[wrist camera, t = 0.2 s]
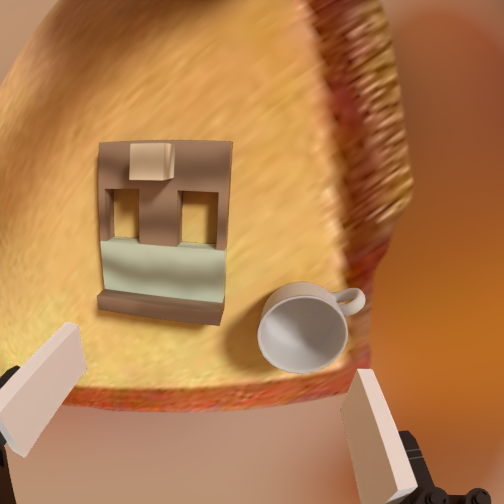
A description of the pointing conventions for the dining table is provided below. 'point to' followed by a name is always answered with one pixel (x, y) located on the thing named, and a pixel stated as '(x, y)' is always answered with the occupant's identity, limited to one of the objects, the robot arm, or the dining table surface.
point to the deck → (165, 236)
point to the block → (152, 161)
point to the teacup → (306, 326)
